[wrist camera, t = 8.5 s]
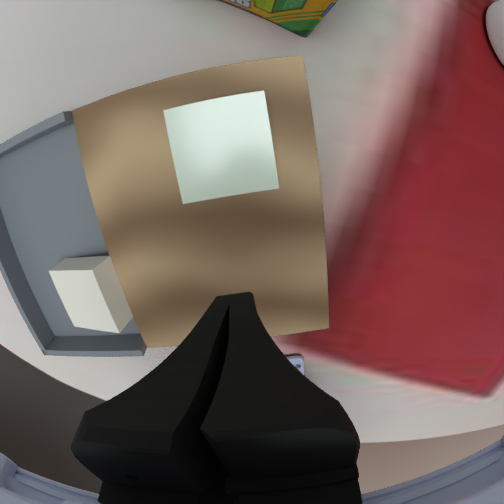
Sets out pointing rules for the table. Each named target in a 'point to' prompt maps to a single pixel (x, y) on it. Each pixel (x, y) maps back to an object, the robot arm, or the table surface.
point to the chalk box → (289, 12)
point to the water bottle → (496, 27)
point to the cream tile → (92, 293)
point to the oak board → (208, 206)
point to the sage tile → (222, 147)
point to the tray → (51, 237)
